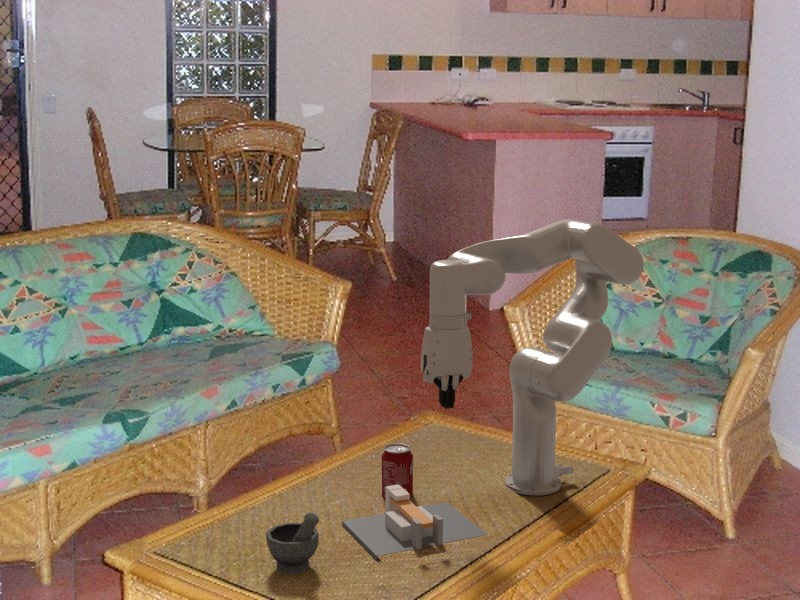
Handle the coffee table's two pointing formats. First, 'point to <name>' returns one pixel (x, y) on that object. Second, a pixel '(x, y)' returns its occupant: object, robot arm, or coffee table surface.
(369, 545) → the board
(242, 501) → the coffee table surface
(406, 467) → the soda can
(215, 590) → the coffee table surface
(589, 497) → the coffee table surface
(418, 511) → the strap
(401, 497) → the block
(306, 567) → the mortar and pestle
